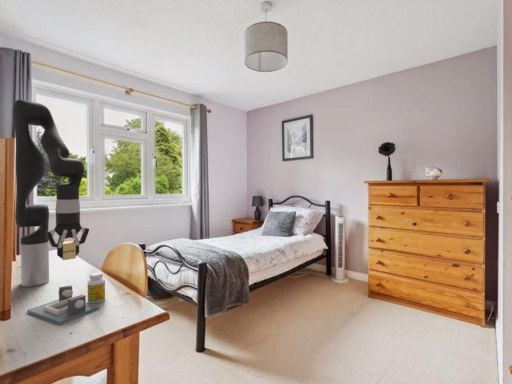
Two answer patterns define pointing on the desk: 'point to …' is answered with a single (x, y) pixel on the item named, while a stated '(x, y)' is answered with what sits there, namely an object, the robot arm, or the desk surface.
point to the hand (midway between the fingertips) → (68, 255)
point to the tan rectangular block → (69, 250)
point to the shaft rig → (63, 307)
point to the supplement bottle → (96, 288)
